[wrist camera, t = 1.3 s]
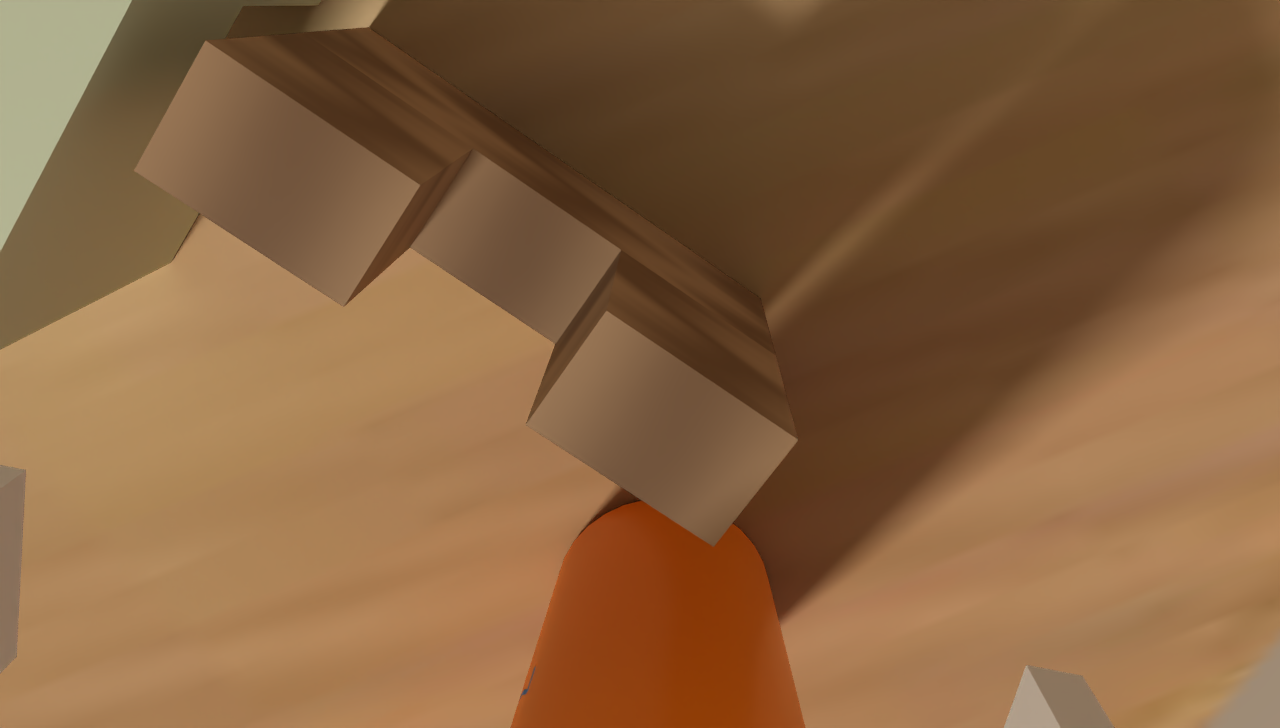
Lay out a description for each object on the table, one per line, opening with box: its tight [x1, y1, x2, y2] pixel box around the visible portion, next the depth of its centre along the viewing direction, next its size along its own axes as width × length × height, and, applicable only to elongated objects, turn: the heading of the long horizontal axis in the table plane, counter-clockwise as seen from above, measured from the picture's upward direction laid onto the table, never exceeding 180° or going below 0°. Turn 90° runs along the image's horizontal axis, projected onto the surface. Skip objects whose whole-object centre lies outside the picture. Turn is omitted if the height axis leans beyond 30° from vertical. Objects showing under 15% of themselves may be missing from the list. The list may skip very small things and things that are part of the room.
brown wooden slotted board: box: [134, 27, 798, 547], centre depth 29 cm, size 14×3×12 cm, turn 56°
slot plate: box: [0, 0, 321, 349], centre depth 28 cm, size 14×3×12 cm, turn 146°
